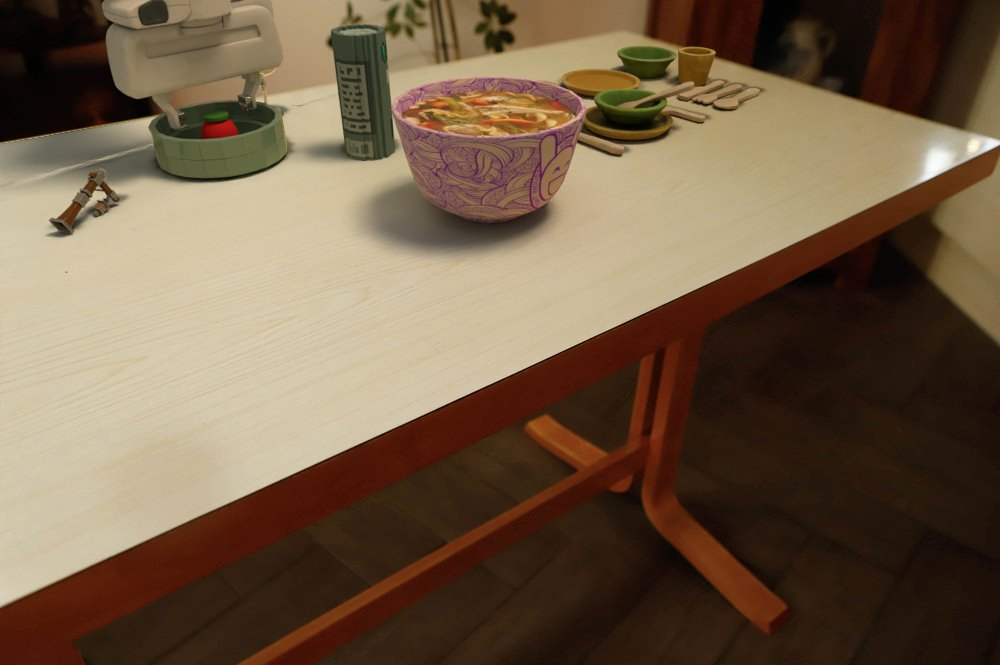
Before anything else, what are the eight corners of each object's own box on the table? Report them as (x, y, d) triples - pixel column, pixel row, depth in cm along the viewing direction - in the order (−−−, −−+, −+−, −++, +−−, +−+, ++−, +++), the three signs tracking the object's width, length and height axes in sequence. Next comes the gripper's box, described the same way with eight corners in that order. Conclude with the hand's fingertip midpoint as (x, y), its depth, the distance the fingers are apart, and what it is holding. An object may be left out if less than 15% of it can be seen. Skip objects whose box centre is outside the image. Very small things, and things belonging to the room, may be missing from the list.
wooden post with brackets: (129, 194, 81) (105, 164, 77) (87, 249, 77) (60, 221, 73) (116, 191, 81) (91, 162, 77) (74, 246, 77) (46, 218, 74)
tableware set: (615, 161, 92) (620, 112, 88) (466, 111, 108) (465, 68, 104) (772, 93, 116) (781, 52, 112) (631, 61, 132) (635, 24, 128)
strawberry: (199, 154, 92) (189, 114, 89) (230, 145, 95) (221, 106, 92) (217, 163, 89) (208, 122, 87) (248, 153, 92) (240, 113, 89)
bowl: (137, 159, 92) (125, 120, 89) (245, 128, 101) (238, 92, 99) (200, 193, 83) (190, 151, 80) (312, 156, 93) (306, 117, 90)
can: (402, 146, 96) (393, 26, 87) (379, 162, 91) (366, 37, 83) (362, 140, 98) (349, 22, 89) (338, 155, 93) (321, 33, 84)
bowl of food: (600, 241, 74) (611, 131, 67) (404, 256, 71) (395, 143, 65) (556, 167, 90) (561, 72, 83) (395, 177, 87) (387, 80, 81)
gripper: (253, -18, 90) (272, 94, 97) (85, 5, 77) (123, 132, 85) (283, -12, 86) (300, 104, 94) (112, 14, 74) (148, 145, 81)
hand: (215, 118), depth 89 cm, fingers open, 8 cm apart
